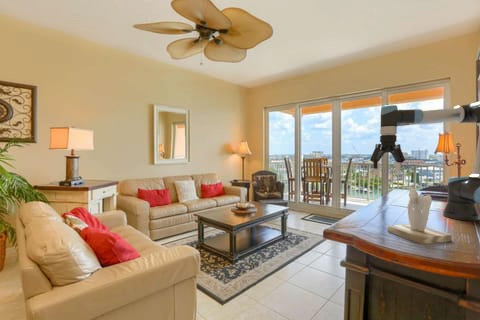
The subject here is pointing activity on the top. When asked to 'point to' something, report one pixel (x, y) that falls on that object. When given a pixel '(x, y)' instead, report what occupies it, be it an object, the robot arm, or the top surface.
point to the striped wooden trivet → (420, 234)
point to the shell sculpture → (418, 210)
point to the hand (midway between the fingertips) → (387, 174)
